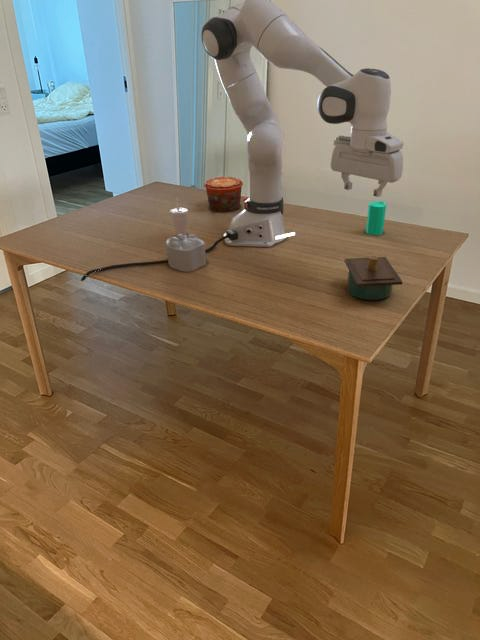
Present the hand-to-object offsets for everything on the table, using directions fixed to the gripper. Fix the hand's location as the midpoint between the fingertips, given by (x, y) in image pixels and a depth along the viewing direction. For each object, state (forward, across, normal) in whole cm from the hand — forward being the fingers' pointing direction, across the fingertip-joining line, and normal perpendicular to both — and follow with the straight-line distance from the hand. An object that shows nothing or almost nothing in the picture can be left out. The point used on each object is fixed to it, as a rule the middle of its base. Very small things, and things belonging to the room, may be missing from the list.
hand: (362, 192), depth 134 cm
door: (+20, +8, -4) cm, 22 cm away
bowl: (+26, +8, -4) cm, 27 cm away
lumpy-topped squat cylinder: (+26, -47, -27) cm, 60 cm away
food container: (+26, -78, +19) cm, 84 cm away
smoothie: (+26, -66, -13) cm, 73 cm away
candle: (+26, -15, +35) cm, 46 cm away
